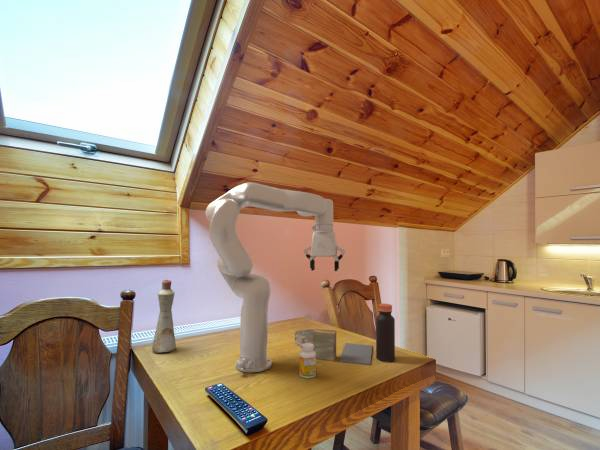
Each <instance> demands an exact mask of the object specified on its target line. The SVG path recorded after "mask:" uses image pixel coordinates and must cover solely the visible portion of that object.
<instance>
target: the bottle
mask: <svg viewBox="0 0 600 450" xmlns="http://www.w3.org/2000/svg"><path fill="white" fill-rule="evenodd" d="M161 287H162V288H161V290H160V291H158V293H157V298H158V305H159V314H158V319H157V322H156V323H157V324H156V329H155V332H154V337H153V342H152V345H151V349H152V353H156V354H157V353H158V354H159V353H169V352H174V350H175V349H176V346H177V345H176V344H177V343H176V337H175V328H174V321H173V313H172V308H173V304H174V299H175V298H174V297H175V294H176V293H175V292H174V290H173V289H172V280H170V279H167V278H166V279H165V280H162V281H161Z"/></svg>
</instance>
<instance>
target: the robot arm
mask: <svg viewBox="0 0 600 450" xmlns="http://www.w3.org/2000/svg"><path fill="white" fill-rule="evenodd" d="M247 207H252V208H256V209H257V208H258V209H263V210H268V211H274V212H285V213H286V212H296V213H297V214H298V215H299V216H301V217H307V218H308V217H313V216H314V225H312V226H311V230H313V231H314V232H313V233H312V235H311V236H312V238H311V246H309V247H307V248H305V249H304V250H303V253H304V255H305V257H306V258H307V259H308V260H309V269H311V271H314V270H315V269H316V267H315V266H316V265H315V264H316V263H315V259H316V257H318V258H319V257H322V258H323V257H324V258H325V257H330V258H333V259H334V263H333V264H334V266H333V267H334V272H337V271H338V270H339V269H340V260H341V259H342V258H343V257H344V255H345V254H346V250H345V249H344V248H342V247H339V246H338V245H337V236H336V232H334V202H333V199H330V198H324V197H323V196H321V195H318V194H314V193H311V192H307V191H300V190H291V189H283V188H278V187H275V186H274V187H273V186H269V185H265V184H262V183H259V182H252V181H248V182H244V183H242V184H241V183H240V184H238V185H236V186H235V187H233V188H232V189H230V190H228V191H227V192H226V193H224V194H223V195H221V196H219V197H218V198H216V199H215V200H213V201H212V202H210V203H209V204H208V205H207V207H206V209H205V218H206V219H207V221H208V222H209V223H210V224H209V237H210V238H209V239H210V241H211V243H212V245H213V247H214V248H215V251H216V252H217V254H218V257H217V261H216V263H217V264H216V265H217V268H218V271H219V273H220V274H221V275H222V277H223V279H224V281H225V282H226V284H227V285H228V286H229V288H230V289H231V291H232V292H233V293H234V295H236V296H237V297H238V298H241V299H243V300H242V305H241V309H240V318H239V319H240V327H239V328H240V331H239V333H240V334H239V359H237V360H236V361H235V364H234V366H235V370H237V371H240V372H243V373H248V374H249V373H251V374H252V373H261V372H264V371H267V370H268V369H270V368H271V367H272V360H271V358H269V357H268V333H269V332H268V327H269V325H268V324H269V323H268V321H269V316H268V314H269V313H268V312H269V303H270V302H269V301H270V298H271V285H270V282H269V280H268V279H267V278H266V277H265V276H263V275H260V274H256V273H251V272H252V271H253V267H254V266H253V265H254V264H253V260H252V258H251V255H250V254H249V253H248V251H247V249H246V248H245V247H244V245H243V243H242V242H241V240H240V237H239V235H238V233H237V231H236V224H237V221H238V218H239V216H240V212H241V210H244V208H247ZM338 251H339V252H340V254H339V255H337V254H338ZM309 252H311V253H309Z"/></svg>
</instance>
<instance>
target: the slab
mask: <svg viewBox="0 0 600 450" xmlns="http://www.w3.org/2000/svg"><path fill="white" fill-rule="evenodd" d="M313 344H314V350H313V351H315V353H316V360H320V361H327V362H335V361H336V359H337V330H334V329H324V328H323V329H322V328H321V329H320V328H315V330H314V332H313Z"/></svg>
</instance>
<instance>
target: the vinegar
mask: <svg viewBox="0 0 600 450" xmlns="http://www.w3.org/2000/svg"><path fill="white" fill-rule="evenodd" d="M378 312H379V314H378V315H377V316H376V317H375V318H376V319H375V323H376V324H375V331H376V332H375V334H376V335H375V340H376V341H375V347H376V348H375V357H376V359H377V360H379V361H380V362H383V363H392V362H394V361H395V360H396V351H395V350H396V344H395V343H396V341H395V340H396V338H395V337H396V336H395V335H396V334H395V333H396V332H395V331H396V329H395V327H396V326H395V317H394V316H393V315H392V313H393V305H392V304H390V303H379V304H378Z"/></svg>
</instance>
